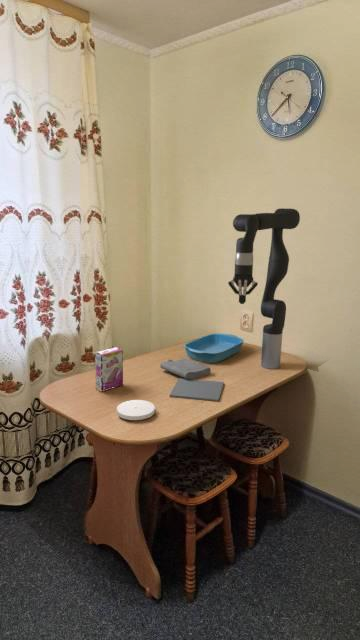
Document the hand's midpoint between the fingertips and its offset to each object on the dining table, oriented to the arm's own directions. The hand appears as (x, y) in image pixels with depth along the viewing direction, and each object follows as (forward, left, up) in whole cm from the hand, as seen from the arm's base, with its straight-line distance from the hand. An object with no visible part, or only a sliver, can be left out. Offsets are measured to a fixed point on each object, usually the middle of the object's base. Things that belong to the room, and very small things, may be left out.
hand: (242, 303), depth 186 cm
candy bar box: (+21, -53, -35) cm, 67 cm away
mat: (+16, -16, -35) cm, 41 cm away
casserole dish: (-33, -15, -36) cm, 51 cm away
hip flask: (+2, -18, -33) cm, 38 cm away
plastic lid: (+42, -35, -36) cm, 65 cm away
